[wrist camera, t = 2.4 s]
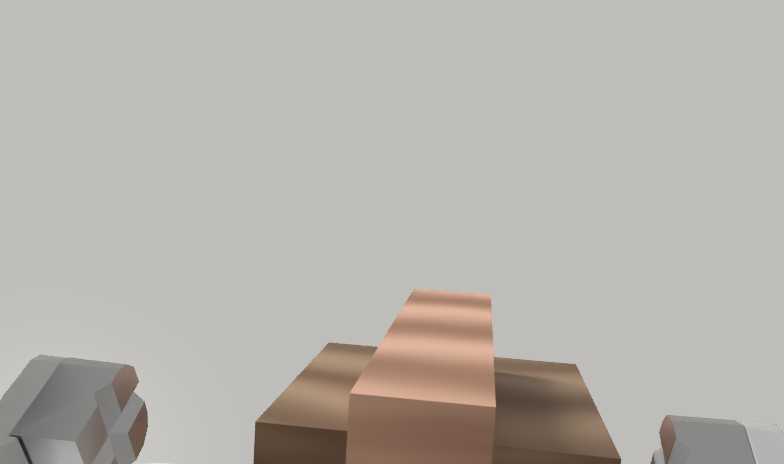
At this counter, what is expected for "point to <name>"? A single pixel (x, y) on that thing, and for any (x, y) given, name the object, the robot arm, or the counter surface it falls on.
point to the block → (428, 386)
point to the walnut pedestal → (512, 418)
